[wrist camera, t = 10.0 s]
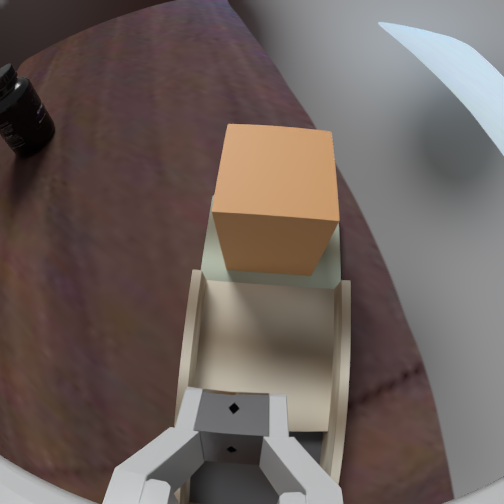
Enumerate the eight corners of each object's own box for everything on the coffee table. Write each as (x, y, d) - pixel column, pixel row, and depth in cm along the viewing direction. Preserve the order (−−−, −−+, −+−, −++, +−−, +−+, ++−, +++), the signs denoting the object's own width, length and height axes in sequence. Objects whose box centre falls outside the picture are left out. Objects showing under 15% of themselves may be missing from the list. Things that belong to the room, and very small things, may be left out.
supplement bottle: (63, 128, 31) (24, 59, 20) (26, 166, 28) (-23, 102, 17) (44, 116, 32) (10, 56, 21) (11, 150, 30) (-31, 93, 19)
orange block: (311, 275, 21) (339, 221, 14) (226, 269, 21) (211, 211, 14) (311, 203, 24) (331, 131, 16) (235, 198, 24) (227, 123, 16)
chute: (318, 518, 15) (328, 538, 12) (181, 509, 16) (169, 528, 12) (334, 214, 25) (344, 190, 22) (213, 205, 25) (208, 180, 22)
